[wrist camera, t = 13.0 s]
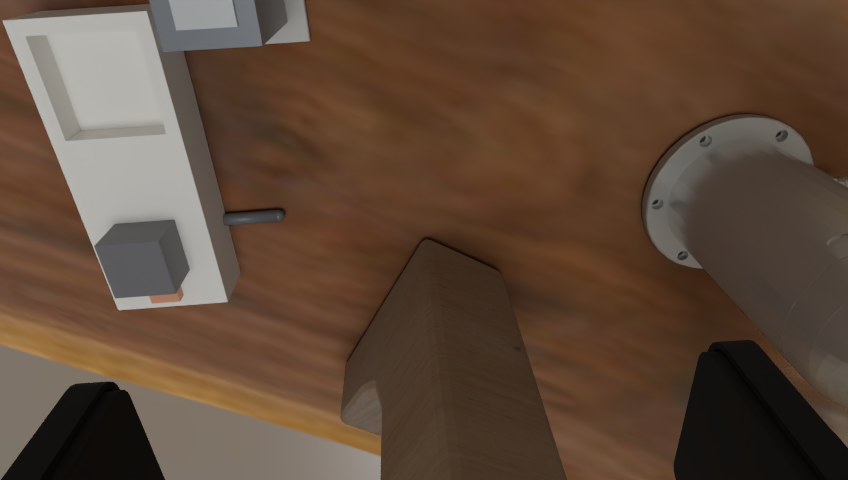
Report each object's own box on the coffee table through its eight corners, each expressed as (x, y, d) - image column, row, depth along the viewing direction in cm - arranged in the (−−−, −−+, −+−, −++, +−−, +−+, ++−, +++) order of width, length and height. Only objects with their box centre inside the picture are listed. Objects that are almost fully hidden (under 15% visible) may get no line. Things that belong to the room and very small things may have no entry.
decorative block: (343, 364, 50) (290, 846, 24) (423, 233, 44) (471, 687, 18) (417, 391, 52) (443, 862, 26) (503, 269, 46) (653, 724, 20)
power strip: (242, -3, 35) (211, 13, 29) (296, 268, 45) (281, 322, 39) (41, 11, 35) (-33, 29, 29) (139, 280, 45) (99, 336, 38)
